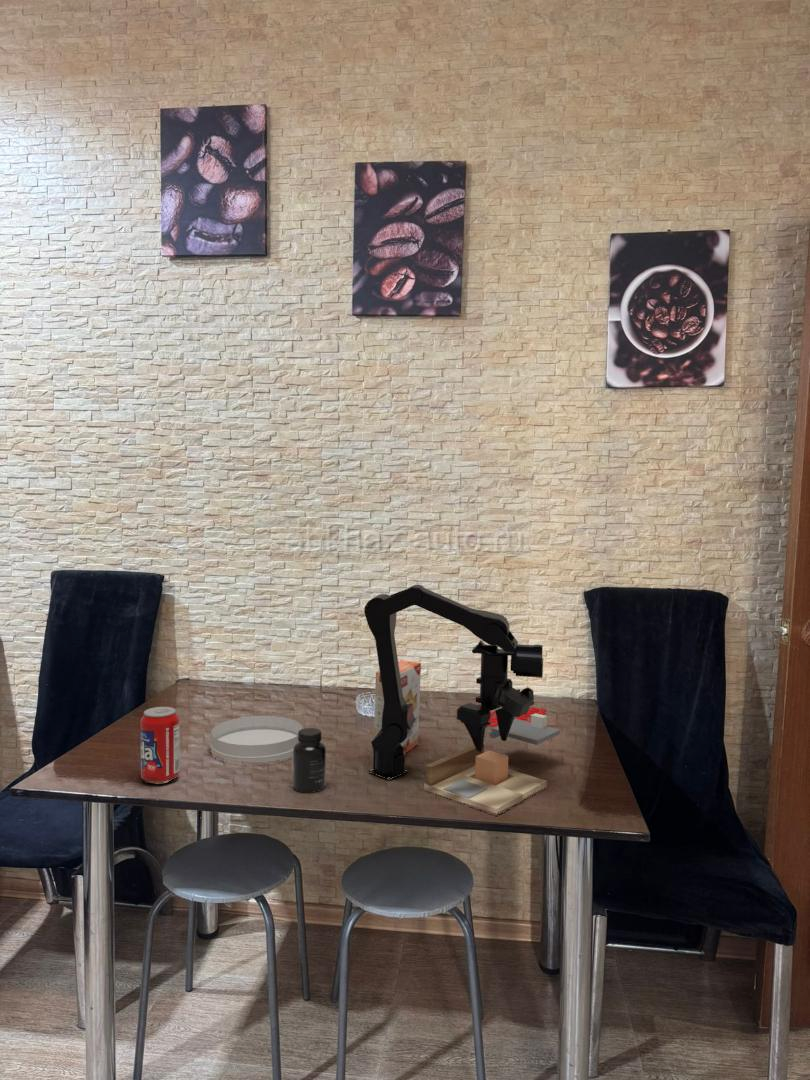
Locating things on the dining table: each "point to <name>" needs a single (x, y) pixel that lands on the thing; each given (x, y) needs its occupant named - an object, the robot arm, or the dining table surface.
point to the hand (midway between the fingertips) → (491, 745)
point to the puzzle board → (477, 782)
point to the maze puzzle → (522, 717)
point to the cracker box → (411, 694)
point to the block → (491, 767)
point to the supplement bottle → (309, 761)
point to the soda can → (160, 744)
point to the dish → (255, 738)
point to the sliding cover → (529, 730)
